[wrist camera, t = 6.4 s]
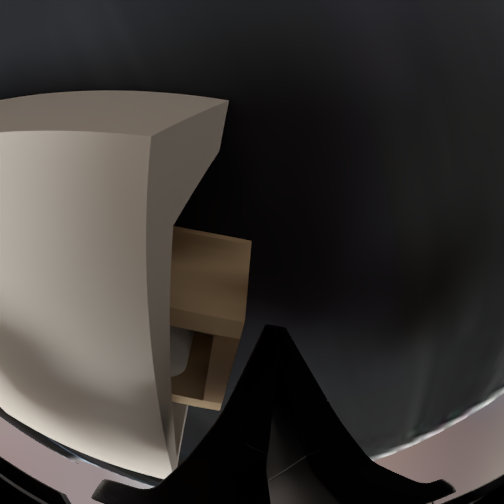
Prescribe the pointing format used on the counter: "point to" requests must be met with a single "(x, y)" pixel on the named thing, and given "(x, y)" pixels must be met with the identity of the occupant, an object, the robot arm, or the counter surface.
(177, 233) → the brown wooden box
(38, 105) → the shelf
